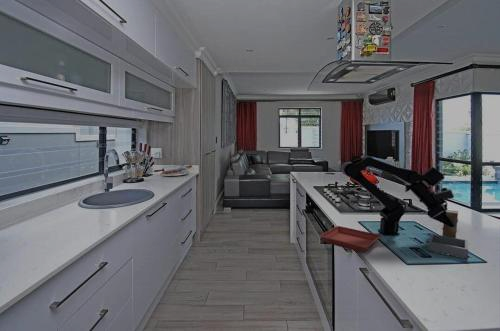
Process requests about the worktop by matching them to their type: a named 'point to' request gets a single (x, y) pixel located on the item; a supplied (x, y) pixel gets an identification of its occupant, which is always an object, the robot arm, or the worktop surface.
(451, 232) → the handle block
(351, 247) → the plant saucer
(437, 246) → the box
